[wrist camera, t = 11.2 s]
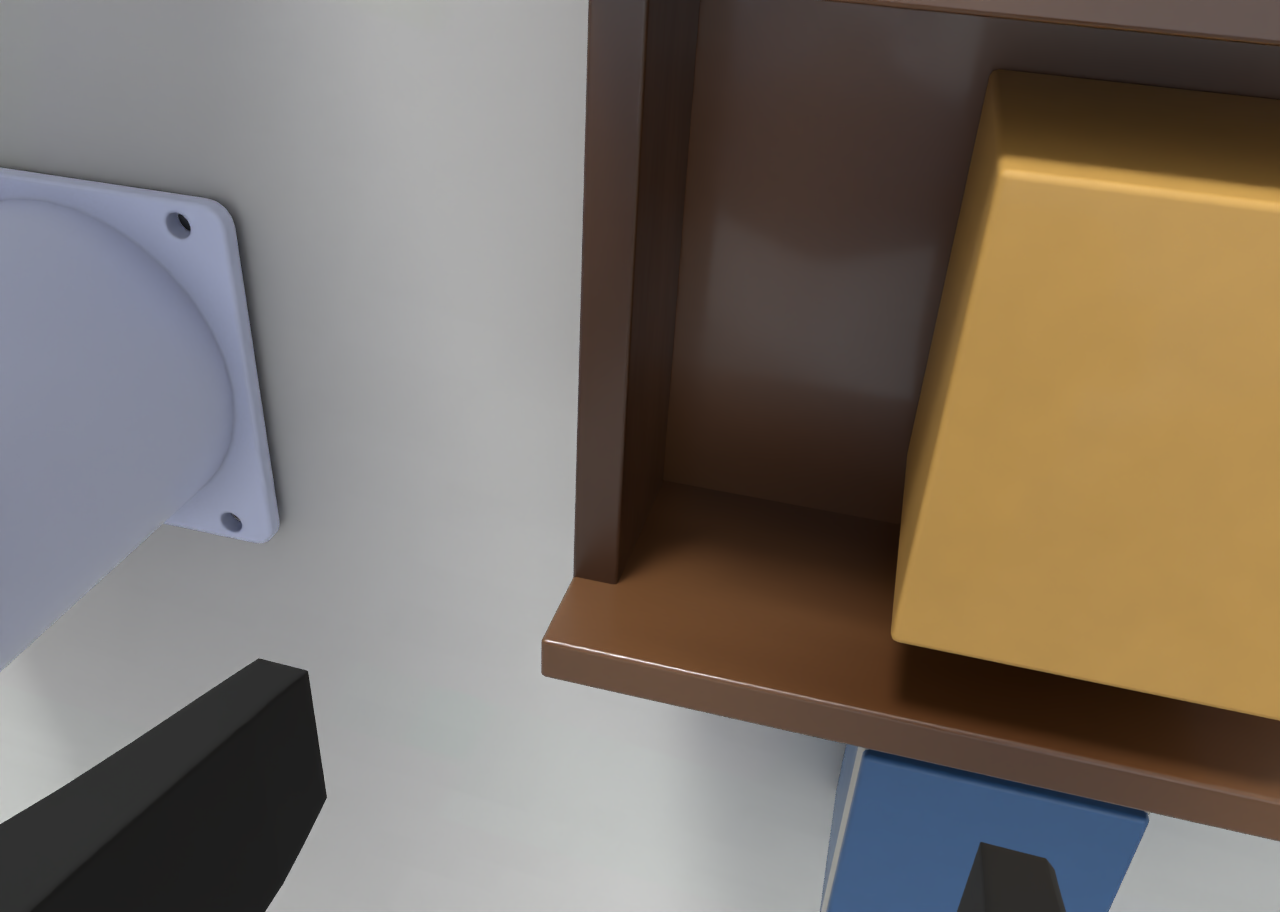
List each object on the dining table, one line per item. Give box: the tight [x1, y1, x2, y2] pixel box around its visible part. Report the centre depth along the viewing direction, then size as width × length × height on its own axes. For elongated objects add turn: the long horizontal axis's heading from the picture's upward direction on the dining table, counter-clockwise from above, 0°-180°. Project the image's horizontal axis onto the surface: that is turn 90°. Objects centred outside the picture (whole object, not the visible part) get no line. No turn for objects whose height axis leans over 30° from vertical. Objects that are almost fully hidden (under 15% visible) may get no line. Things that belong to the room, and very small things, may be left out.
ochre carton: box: [891, 69, 1280, 721], centre depth 13 cm, size 5×6×5 cm
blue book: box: [820, 744, 1149, 912], centre depth 21 cm, size 4×6×5 cm
